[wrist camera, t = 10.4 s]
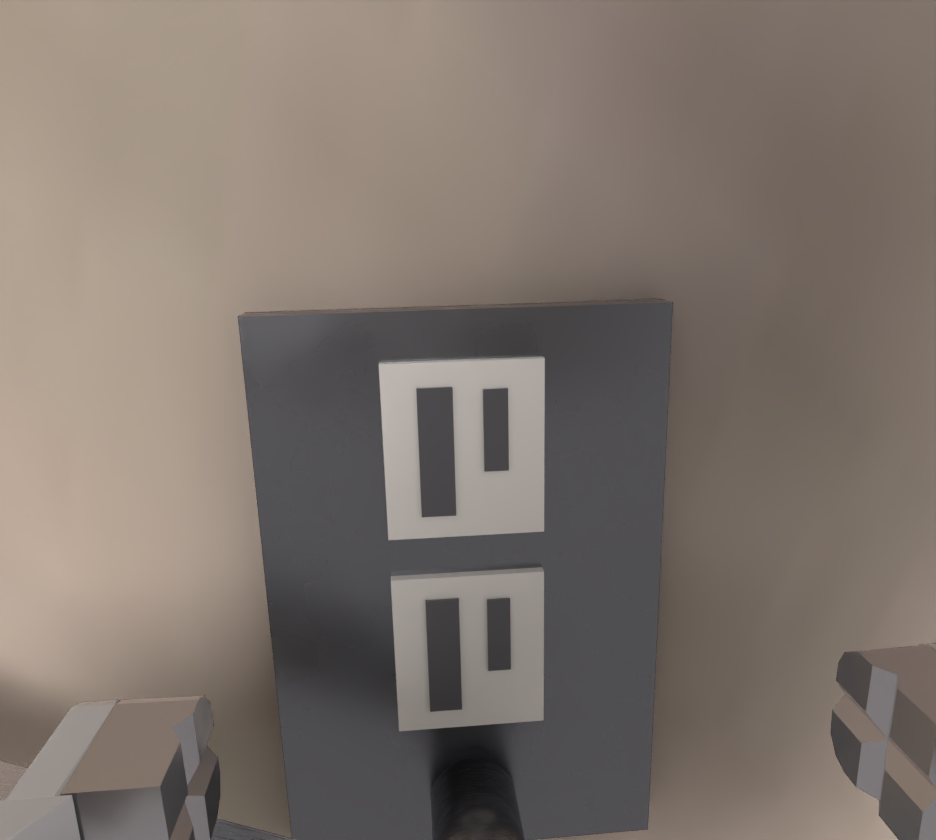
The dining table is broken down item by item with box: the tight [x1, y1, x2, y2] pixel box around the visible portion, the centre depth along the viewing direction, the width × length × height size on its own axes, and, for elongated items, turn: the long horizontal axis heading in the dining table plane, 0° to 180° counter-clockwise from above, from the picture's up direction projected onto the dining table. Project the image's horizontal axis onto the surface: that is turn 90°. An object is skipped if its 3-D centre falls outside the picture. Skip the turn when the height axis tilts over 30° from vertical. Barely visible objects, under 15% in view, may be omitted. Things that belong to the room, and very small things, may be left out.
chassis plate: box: [238, 299, 673, 840], centre depth 23 cm, size 18×12×1 cm, turn 1°
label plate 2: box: [391, 567, 544, 731], centre depth 22 cm, size 5×5×1 cm
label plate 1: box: [379, 356, 545, 540], centre depth 21 cm, size 5×5×1 cm
